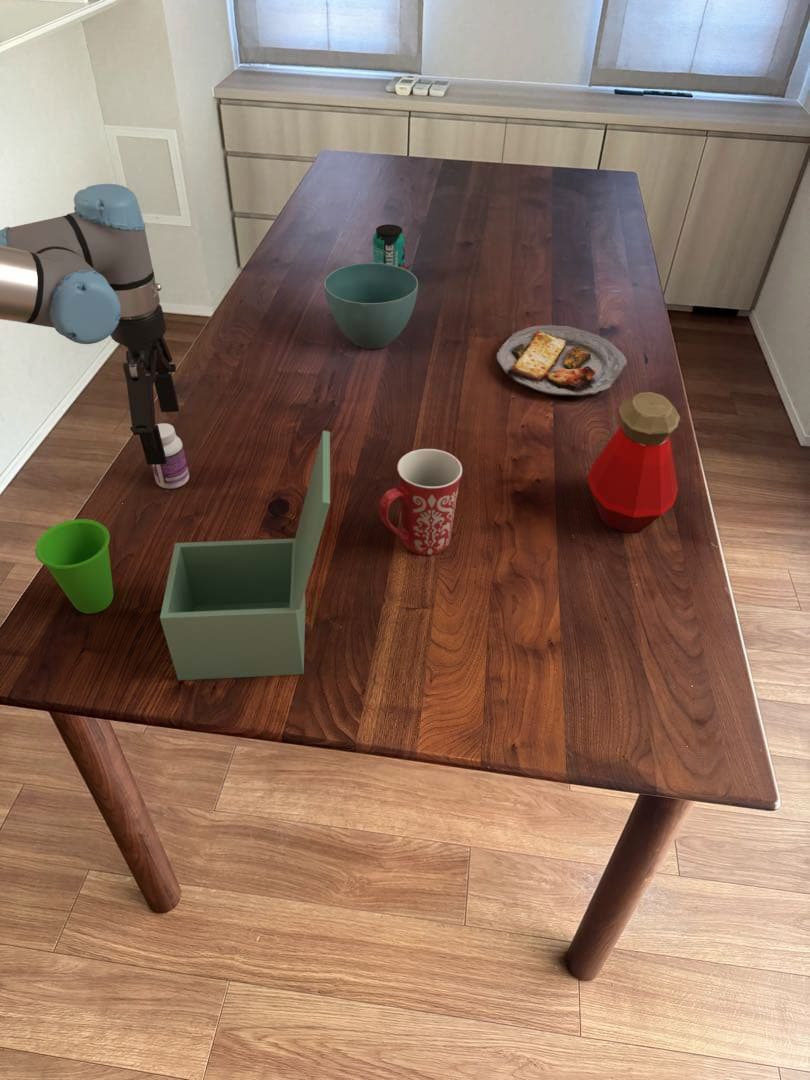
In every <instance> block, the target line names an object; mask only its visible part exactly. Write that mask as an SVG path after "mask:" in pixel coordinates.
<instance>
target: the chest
mask: <svg viewBox="0 0 810 1080" xmlns="http://www.w3.org/2000/svg"><path fill="white" fill-rule="evenodd" d="M295 544H296V538H274V539H246V540H244V539H243V540H221V541H219V540H218V541H216V540H215V541H193V542H192V541H191V542H175V543H174V546H173V551H172V557H171V561H170V566H169V571H168V575H167V581H166V586H165V590H164V595H163V602H162V606H161V611H160V616H159V620H160V623H161V627H162V631H163V634H164V637H165V640H166V643H167V647H168V650H169V654H170V658H171V661H172V664H173V667H174V670H175V671H174V672H175V674H176V678H177V680H178V681H194V680H195V681H196V680H215V679H233V678H235V679H236V678H255V677H276V676H296V675H300V676H301V675H304V674H305V638H306V637H305V636H306V592H305V593H304V596H303V600H302V603H301V607H300V610H297V609H293V593H294V568H295Z"/></svg>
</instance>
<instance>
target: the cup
mask: <svg viewBox="0 0 810 1080" xmlns="http://www.w3.org/2000/svg"><path fill="white" fill-rule="evenodd" d="M110 539H111V536H110V531H109V530H108V529H107V527H106V526H105V525H103V524H102V523H101V522H98V521H96V520H94V519H89V518H88V519H87V518H76V519H70V520H67V521H63V522H59V523H58V524H55V525H54V526H52V527H51V528H49V529H47V530H46V531H45V532H44V533H42V535H41V536H40V537H39V539H38V540H37V542H36V545H35V557H36V558H37V560H38V561H39V562H40V563H41V564H42V565H44V566H45V567H46V568H47V570H48V572H49V573H50V574H51V576H53V578H54V579H55V581H56V582H57V584H58V585H59V587H60V588H61V590H62V591H63V592H64V594H65V595H66V597H67V598H68V600H69V601H70V603H71V604H72V605H73V607H74V608H75V609H76V610H77V611H79V612H81V613H82V614H88V615H89V614H96V613H97V614H98V613H100V612H103V611H104V610H106V609H108V607H109V606H110V605H111V603H112V601H113V598H114V586H113V576H112V567H111V559H110V551H109V550H110V549H109V548H110V547H109V544H110Z"/></svg>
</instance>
